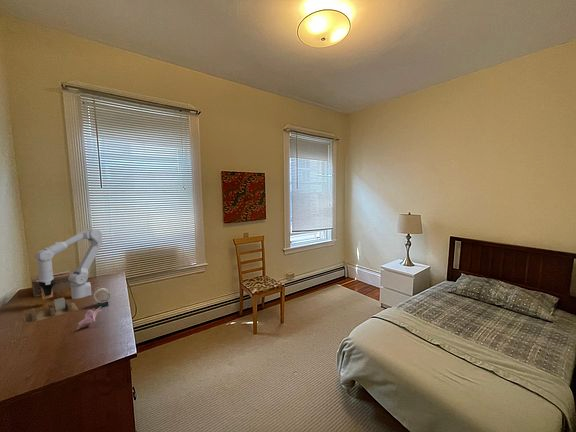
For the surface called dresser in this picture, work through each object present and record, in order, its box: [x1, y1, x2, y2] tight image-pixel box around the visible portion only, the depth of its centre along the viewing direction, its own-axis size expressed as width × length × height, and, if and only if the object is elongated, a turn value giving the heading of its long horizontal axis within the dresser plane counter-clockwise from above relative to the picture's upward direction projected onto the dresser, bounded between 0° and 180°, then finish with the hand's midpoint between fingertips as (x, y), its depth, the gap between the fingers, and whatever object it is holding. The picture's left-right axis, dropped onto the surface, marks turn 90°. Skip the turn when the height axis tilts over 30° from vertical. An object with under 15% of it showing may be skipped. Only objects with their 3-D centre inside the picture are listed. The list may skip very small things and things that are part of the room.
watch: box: [93, 287, 112, 309], centre depth 136 cm, size 6×8×11 cm
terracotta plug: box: [41, 287, 54, 300], centre depth 136 cm, size 4×4×6 cm
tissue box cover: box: [31, 269, 75, 297], centre depth 165 cm, size 26×14×10 cm, turn 139°
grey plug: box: [53, 297, 66, 312], centre depth 131 cm, size 4×4×6 cm
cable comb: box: [22, 299, 79, 325], centre depth 128 cm, size 20×14×4 cm
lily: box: [76, 307, 103, 331], centre depth 115 cm, size 12×12×10 cm
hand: (47, 294), depth 136 cm, fingers closed on terracotta plug, 4 cm apart
